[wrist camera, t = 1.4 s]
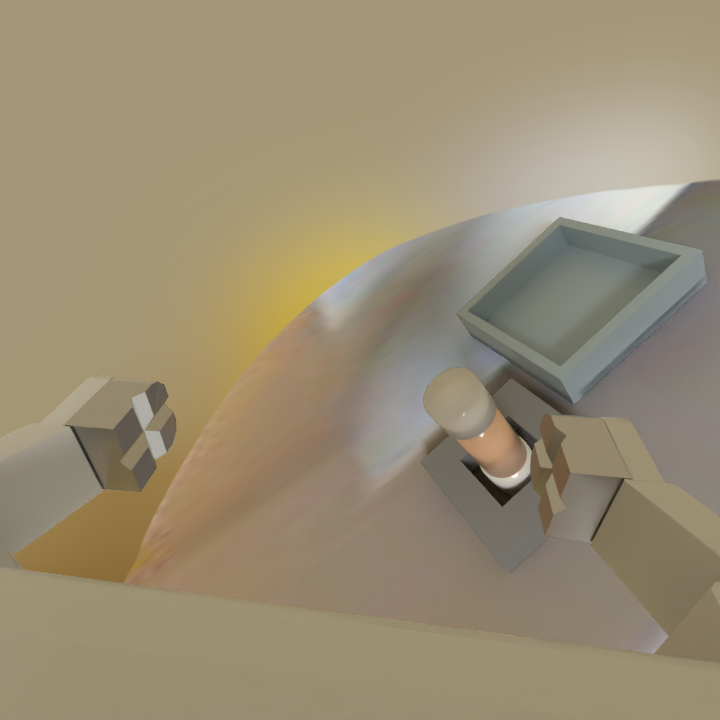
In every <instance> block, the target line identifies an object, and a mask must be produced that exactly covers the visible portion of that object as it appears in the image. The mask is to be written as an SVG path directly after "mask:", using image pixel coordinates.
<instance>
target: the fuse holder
mask: <svg viewBox="0 0 720 720" xmlns="http://www.w3.org/2000/svg"><path fill="white" fill-rule="evenodd" d="M492 397H493V399H494V401H495V404H496V407H497V409H498V410H499V411H500V413H501V414H502V415H503V417H504V418H505V419H506V421H507V422H508V423H509V425H510V426H511V427H512V429H513V430H514V431H515V432H516V431H517V430H518V429H519V430H520V431H521V432H522V433H523V434H524V435H526V436H527V437H528V438H529V439H530V440H532V441H533V442H534V443H536V442H537V441H539V440H540V439H542V436H541V432H540V429H539V427H540V424H541V421H542V418H543V417H544V415H545V414H546V413H549V414H561V413H559V412H558V411H557V410H555V409H554V408H552V407H551V406H550V405H548V404H547V403H545V402H544V401H543V400H541V399H540V398H538V397H537V396H536V395H534V394H533V393H531V392H530V391H529V390H527V389H526V388H524V387H523V386H522V385H520V384H519V383H517V382H516V381H515V380H513V379H512V378H511V379H510V380H509V381H507V382H506V383H505V384H504V385H503V386H502V387H501V388H500V389H499V390H498V391H497V392H496V393H494V394H493V395H492ZM420 463H421V464H422V465H423V466H424V468H425V469H426V470H427V472H428V473H429V474H430V475H431V477H432V478H433V479H434V481H435V482H436V483H437V484H438V486H439V487H440V488H441V490H442V491H443V492H444V493H445V495H446V496H447V497H448V498H449V500H450V501H451V502H452V504H453V505H454V506H455V507H456V509H457V510H458V511H459V513H460V514H461V515H462V516H463V518H464V519H465V520H466V522H467V523H468V524H469V525H470V527H471V528H472V529H473V531H474V532H475V533H476V534H477V536H478V537H479V538H480V540H481V541H482V542H483V543H484V545H485V546H486V547H487V548H488V550H489V551H490V552H491V554H492V555H493V556H494V557H495V559H496V560H497V561H498V562H499V563H500V564H501V565H502V566H503V567H505V568H506V569H507V570H508V571H510V572H512V571H513V570H514V569H515V568H516V567H517V566H518V565H519V564H521V563H522V562H523V561H524V560H525V559H526V558H527V557H528V556H529V555H530V554H532V553H533V552H534V551H535V550H536V549H537V548H538V547H539V546H540V545H541V544H543V543H544V542H545V541H546V540H547V539H548V538H549V537H546V536H545V534H544V530H543V526H542V522H541V518H540V514H539V510H538V505H539V502H540V499H541V496H540V495H539V494H538V493H537V492H536V491H535V490H534V489H533V485H532V481H530V482H529V483H528V484H527V485H526V486H525V487H523V488H522V489H521V490H520V491H519V492H518V493H517V494H516V495H515V496H514V497H513V498H511V499H510V500H509V501H508V502H507V503H506V504H505V505H504V506H502V505H501V504H500V503H499V502H498V501H497V500H496V499H495V498H494V496H493V495H492V494H491V493H490V492H489V491H488V490H487V489H486V488H485V486H484V485H483V484H482V483H481V482H480V481H479V480H478V479H477V478H476V477H475V475H474V474H473V473H472V472H473V471H474V470H475V469H476V468H477V467H478V466H479V464H478V463H477V462H476V461H475V459H474V458H473V457H472V456H471V455H470V454H469V453H468V452H467V451H466V450H465V449H464V448H463V447H462V445H461V444H460V443H459V442H458V441H457V440H456V439H455V438H452V437H450V436H448V437H447V438H446V439H445V440H444V441H442V442H441V443H440V444H439V445H438V446H437V447H436V448H435V449H434V450H433V451H432V452H431V453H430V454H428V455H427V456H426V457H425V458H424V459H423V460H422V461H421V462H420Z"/></svg>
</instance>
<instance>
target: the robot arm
mask: <svg viewBox="0 0 720 720" xmlns="http://www.w3.org/2000/svg"><path fill="white" fill-rule="evenodd" d="M167 398H168V394H167V391H166V388H165V386H164V384H162V383H160V382H157V381H148V380H138V379H129V378H119V377H117V378H115V377H106V376H93V377H90V378H88V379H87V380H86V381H84V383H82V384H81V385H80V386H79V387H78V388H77V389H76V390H75V391H74V392H73V393H72V394H71V395H70V396H68V397H67V398H66V399H65V401H63V402H62V403H61V404H60V405H59V406H58V407H57V408H56V409H55V410H54V411H53V412H51V413H50V414H49V415H48V416H47V417H46V418H45V419H44V420H43V421H42V422H41V423H40V424H38V423H32V424H30V425H27V426H25V427H23V428H21V429H18V430H16V431H14V432H11V433H9V434H7V435H4V436H2V437H0V720H720V517H719V516H718V515H716V514H715V513H714V512H712V511H711V510H709V509H708V508H707V507H705V506H704V505H703V504H701V503H700V502H698V501H697V500H696V499H694V498H693V497H691V496H690V495H689V494H687V493H686V492H685V491H683V490H682V489H680V488H679V487H678V486H676V485H675V484H670V483H665V482H664V480H663V478H662V476H661V475H660V473H659V471H658V469H657V467H656V466H655V464H654V462H653V460H652V459H651V457H650V455H649V453H648V451H647V450H646V448H645V446H644V444H643V442H642V441H641V439H640V437H639V435H638V434H637V432H636V430H635V428H634V426H633V425H632V423H631V422H630V421H629V420H628V419H626V418H612V417H589V416H576V415H562V414H549V413H546V414H545V415H544V417H543V418H542V421H541V424H540V427H539V429H540V432H541V436H542V439H540V440H539V441H537V442H536V443H534V446H533V450H532V454H531V462H530V473H531V481H532V485H533V489H534V490H535V491H536V492H537V493H538V494H539V495H540V496H541V499H540V502H539V505H538V510H539V514H540V518H541V522H542V526H543V530H544V534H545V536H546V537H553V538H560V539H568V540H575V541H582V542H590V543H591V546H592V547H593V548H594V549H595V550H596V552H597V553H598V554H599V555H600V556H601V557H602V559H603V560H604V561H605V562H606V563H607V564H608V566H609V567H610V568H611V569H612V570H613V571H614V573H615V574H616V575H617V576H618V577H619V578H620V579H621V581H622V582H623V583H624V584H625V585H626V586H627V588H628V589H629V590H630V591H631V592H632V593H633V595H634V596H635V597H636V598H637V599H638V600H639V602H640V603H641V604H642V605H643V606H644V607H645V609H646V610H647V611H648V612H649V613H650V614H651V616H652V617H653V618H654V619H655V620H656V621H657V623H658V624H659V625H660V626H661V627H662V628H663V630H664V631H665V632H666V633H667V634H668V635H669V637H668V638H667V639H666V640H665V641H664V643H663V644H662V645H661V646H660V647H659V648H658V650H657V651H656V652H655V653H654V654H650V653H642V652H635V651H627V650H620V649H612V648H605V647H597V646H590V645H582V644H575V643H567V642H560V641H552V640H545V639H537V638H530V637H522V636H515V635H508V634H500V633H493V632H485V631H478V630H470V629H463V628H455V627H448V626H440V625H433V624H425V623H418V622H410V621H403V620H395V619H388V618H380V617H373V616H365V615H358V614H351V613H343V612H336V611H328V610H321V609H313V608H306V607H298V606H291V605H283V604H275V603H268V602H260V601H253V600H245V599H238V598H230V597H223V596H215V595H207V594H200V593H192V592H185V591H177V590H170V589H162V588H155V587H147V586H140V585H132V584H125V583H117V582H110V581H103V580H95V579H88V578H80V577H73V576H65V575H58V574H50V573H42V572H35V571H28V570H24V569H23V568H22V567H21V565H20V564H19V563H18V562H17V561H16V559H15V558H14V557H13V555H15V554H16V553H17V552H19V551H20V550H21V549H23V548H24V547H26V546H27V545H29V544H30V543H31V542H33V541H34V540H35V539H37V538H38V537H40V536H41V535H42V534H44V533H45V532H46V531H48V530H49V529H51V528H52V527H54V526H55V525H56V524H58V523H59V522H61V521H62V520H63V519H65V518H66V517H67V516H69V515H70V514H72V513H73V512H74V511H76V510H77V509H79V508H80V507H81V506H82V505H84V504H86V503H87V502H88V501H90V500H91V499H92V498H94V497H95V496H97V495H98V494H99V493H101V492H102V491H103V489H110V490H124V491H135V492H141V491H142V489H143V488H144V486H145V485H146V483H147V482H148V480H149V478H150V477H151V476H152V474H153V473H154V471H155V470H156V462H155V459H157V458H158V457H160V456H162V455H163V454H165V453H166V452H167V451H168V449H169V448H170V446H171V445H172V443H173V440H174V436H175V433H176V418H175V415H174V412H173V411H172V410H171V409H170V408H169V407H168V406H167V405H166V404H165V401H166V400H167Z"/></svg>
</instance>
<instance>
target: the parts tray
mask: <svg viewBox="0 0 720 720" xmlns="http://www.w3.org/2000/svg"><path fill="white" fill-rule="evenodd" d="M706 283H707V278H706V272H705V266H704V260H703V254H702V250H700V249H695V248H691V247H687V246H682V245H678V244H674V243H669V242H665V241H661V240H656V239H652V238H648V237H643V236H639V235H635V234H630V233H626V232H622V231H617V230H613V229H609V228H604V227H600V226H596V225H591V224H587V223H583V222H578V221H574V220H570V219H565V218H561V217H559V218H558V219H557V220H556V221H555V222H554V223H553V224H552V225H551V226H550V227H549V228H548V229H546V230H545V231H544V232H543V233H542V234H541V235H540V236H539V237H538V238H537V239H536V240H535V241H534V242H533V243H531V244H530V245H529V246H528V247H527V248H526V249H525V250H524V251H523V252H522V253H521V254H520V255H519V256H518V257H516V258H515V259H514V260H513V261H512V262H511V263H510V264H509V265H508V266H507V267H506V268H505V269H504V270H503V271H501V272H500V273H499V274H498V275H497V276H496V277H495V278H494V279H493V280H492V281H491V282H490V283H489V284H488V285H486V286H485V287H484V288H483V289H482V290H481V291H480V292H479V293H478V294H477V295H476V296H475V297H474V298H473V299H472V300H470V301H469V302H468V303H467V304H466V305H465V306H464V307H463V308H462V309H461V310H460V311H459V312H458V313H457V316H458V317H459V319H460V320H461V321H462V323H463V324H464V326H465V327H466V329H467V330H468V332H469V333H470V334H471V336H473V337H474V338H476V339H477V340H479V341H480V342H482V343H483V344H485V345H486V346H488V347H489V348H491V349H492V350H494V351H495V352H497V353H498V354H500V355H501V356H503V357H504V358H506V359H507V360H509V361H510V362H512V363H513V364H515V365H516V366H518V367H519V368H521V369H522V370H524V371H525V372H527V373H528V374H530V375H531V376H533V377H534V378H536V379H537V380H539V381H540V382H542V383H543V384H545V385H546V386H547V387H549V388H550V389H552V390H553V391H555V392H556V393H558V394H559V395H561V396H562V397H564V398H565V399H567V400H568V401H570V402H571V403H573V404H575V403H576V402H577V401H579V400H580V399H581V398H582V397H583V396H584V395H585V394H586V393H587V392H588V391H589V390H591V389H592V388H593V387H594V386H595V385H596V384H597V383H598V382H599V381H600V380H601V379H603V378H604V377H605V376H606V375H607V374H608V373H609V372H610V371H611V370H612V369H613V368H615V367H616V366H617V365H618V364H619V363H620V362H621V361H622V360H623V359H624V358H625V357H627V356H628V355H629V354H630V353H631V352H632V351H633V350H634V349H635V348H636V347H637V346H639V345H640V344H641V343H642V342H643V341H644V340H645V339H646V338H647V337H648V336H649V335H651V334H652V333H653V332H654V331H655V330H656V329H657V328H658V327H659V326H660V325H661V324H663V323H664V322H665V321H666V320H667V319H668V318H669V317H670V316H671V315H672V314H673V313H675V312H676V311H677V310H678V309H679V308H680V307H681V306H682V305H683V304H684V303H685V302H687V301H688V300H689V299H690V298H691V297H692V296H693V295H694V294H695V293H696V292H697V291H699V290H700V289H701V288H702V287H703V286H704V285H705V284H706Z"/></svg>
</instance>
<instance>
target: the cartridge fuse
mask: <svg viewBox="0 0 720 720" xmlns="http://www.w3.org/2000/svg"><path fill="white" fill-rule="evenodd" d="M423 404H424V408H425V410H426V412H427V413H428V414H429V415H430V416H431V417H432V418H433V419H434V420H435V421H436V423H437V424H438V425H439V426H440V427H441V428H442V429H443V430H444V431H445V432H446V433H447V434H448V435H449V436H450V437H452V438H455V439H456V440H457V441H458V442H459V443H460V444H461V445H462V447H463V448H464V449H465V450H466V451H467V452H468V453H469V454H470V455H471V456H472V457H473V458H474V459H475V461H476V462H477V463H478V464H479V465H480V467H481V470H482V471H483V472H484V474H485V475H486V476H487V477H488V478H489V479H490V480H491V481H492V482H493V483H494V484H495V485H496V486H497V488H498V489H500V490H501V491H502V492H504V493H506V494H509V495H516V494H517V493H518V492H519V491H520V490H521V489H522V488H523V487H525V486H526V485H527V484H528V483H529V482H530V481H531V473H530V462H531V454H532V450H531V449H530V447H529V446H528V445H527V443H526V442H525V441H524V440H523V439H522V438H521V437H520V436H518V435H517V434H516V433H515V431H514V430H513V429H512V427H511V426H510V425H509V423H508V422H507V421H506V419H505V418H504V417H503V415H502V414H501V413H500V411H499V410H498V409H497V407H496V404H495V401H494V399H493V397H492V396H491V395H490V393H489V392H488V391H487V389H486V388H485V387H484V385H483V384H482V383H481V381H480V380H479V379H478V377H477V376H476V375H475V373H474V372H472V371H471V370H469V369H466V368H452V369H449V370H446V371H444V372H442V373H441V374H439V375H438V376H437V377H435V378H434V379H433V380H432V381H431V383H430V384H429V385H428V387H427V389H426V391H425V394H424V398H423Z"/></svg>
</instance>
